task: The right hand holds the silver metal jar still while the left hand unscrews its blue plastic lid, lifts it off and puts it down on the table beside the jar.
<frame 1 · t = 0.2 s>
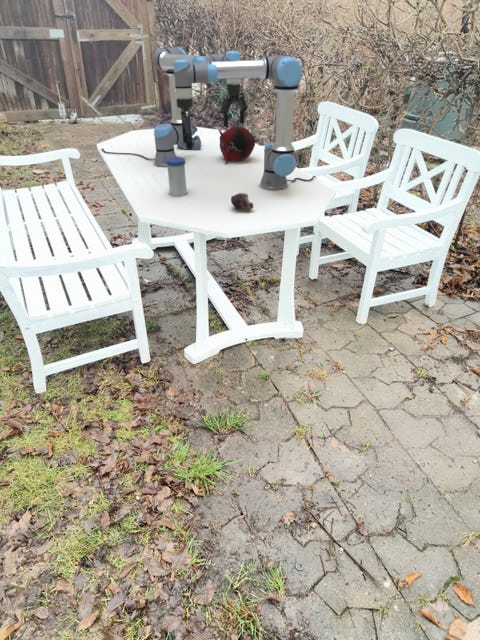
left hand: (234, 125, 259), 28 cm above the table, tool pointing down, fingers open, 13 cm apart
right hand: (187, 145, 221), 28 cm above the table, tool pointing down, fingers open, 13 cm apart
rock: (241, 209, 225), on the table
koala plush: (189, 147, 329), on the table
lid: (175, 160, 236), point 18 cm above the table, screwed on, not yet turned
jar: (178, 193, 246), on the table
dark red rounded piece: (236, 159, 302), on the table
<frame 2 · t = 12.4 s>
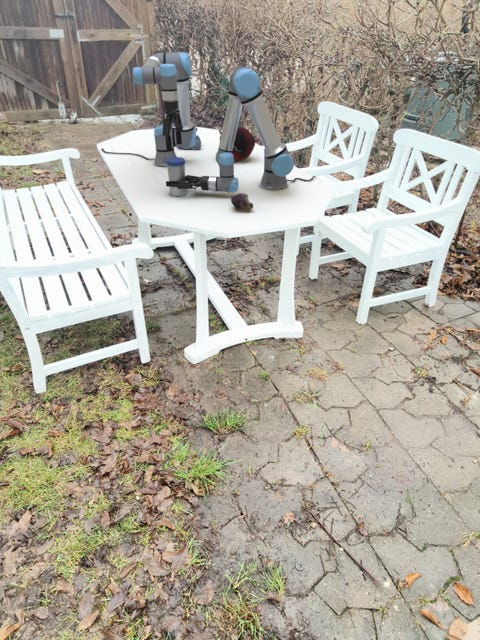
left hand: (174, 146, 232), 25 cm above the table, tool pointing down, fingers open, 11 cm apart
right hand: (169, 180, 243), 7 cm above the table, tool horizontal, fingers closed on jar, 9 cm apart
jar: (178, 193, 246), on the table, touching right hand
everything else where it was.
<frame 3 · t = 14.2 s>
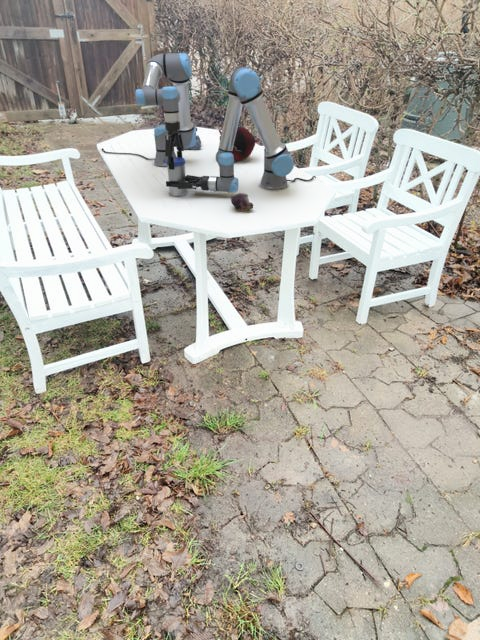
left hand: (176, 166, 238), 15 cm above the table, tool pointing down, fingers closed on lid, 10 cm apart
right hand: (169, 180, 243), 7 cm above the table, tool horizontal, fingers closed on jar, 9 cm apart
lid: (175, 160, 236), point 18 cm above the table, screwed on, not yet turned, touching left hand
jar: (178, 193, 246), on the table, touching right hand
everything else where it was.
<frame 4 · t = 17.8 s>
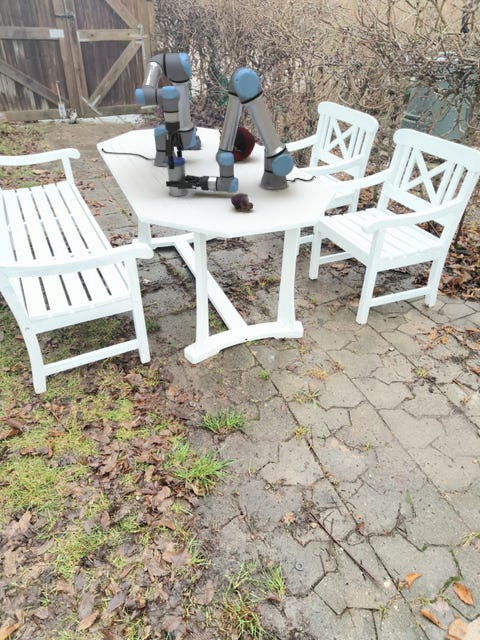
left hand: (176, 166, 238), 15 cm above the table, tool pointing down, fingers closed on lid, 10 cm apart
right hand: (169, 180, 243), 7 cm above the table, tool horizontal, fingers closed on jar, 9 cm apart
lid: (175, 160, 236), point 18 cm above the table, turned 106° so far, risen 0.2 cm, still on its thread, touching left hand
jar: (178, 193, 246), on the table, touching right hand
everything else where it was.
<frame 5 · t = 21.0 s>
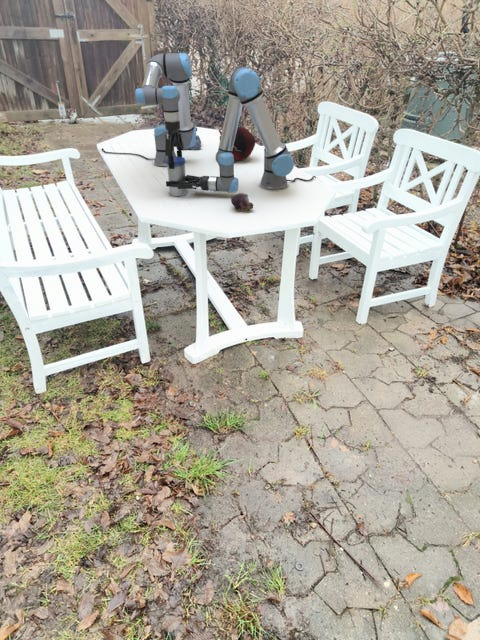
left hand: (176, 165, 238), 15 cm above the table, tool pointing down, fingers closed on lid, 10 cm apart
right hand: (169, 180, 243), 7 cm above the table, tool horizontal, fingers closed on jar, 9 cm apart
lid: (175, 159, 236), point 18 cm above the table, turned 213° so far, risen 0.3 cm, still on its thread, touching left hand
jar: (178, 193, 246), on the table, touching right hand
everything else where it was.
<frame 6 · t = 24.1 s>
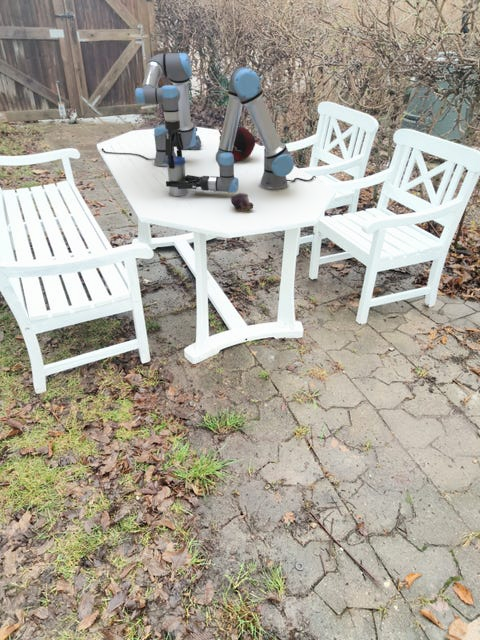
left hand: (176, 165, 238), 15 cm above the table, tool pointing down, fingers closed on lid, 10 cm apart
right hand: (169, 180, 243), 7 cm above the table, tool horizontal, fingers closed on jar, 9 cm apart
lid: (175, 159, 236), point 18 cm above the table, turned 319° so far, risen 0.5 cm, still on its thread, touching left hand
jar: (178, 193, 246), on the table, touching right hand
everything else where it was.
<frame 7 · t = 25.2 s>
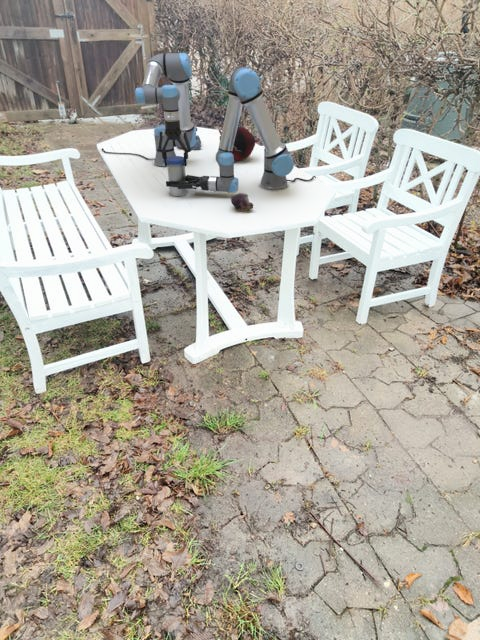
left hand: (176, 165, 238), 15 cm above the table, tool pointing down, fingers closed on lid, 10 cm apart
right hand: (169, 180, 243), 7 cm above the table, tool horizontal, fingers closed on jar, 9 cm apart
lid: (175, 159, 236), point 18 cm above the table, off its thread, touching left hand
jar: (178, 193, 246), on the table, touching right hand
everything else where it was.
when the left hand's fingers open (0 cm above the table, at t = 31.3 s): lid drops 2 cm, point 2 cm above the table.
when the right hand's fingers open (7 cm above the table, at t = 32.4 s): jar stays where it is, on the table.
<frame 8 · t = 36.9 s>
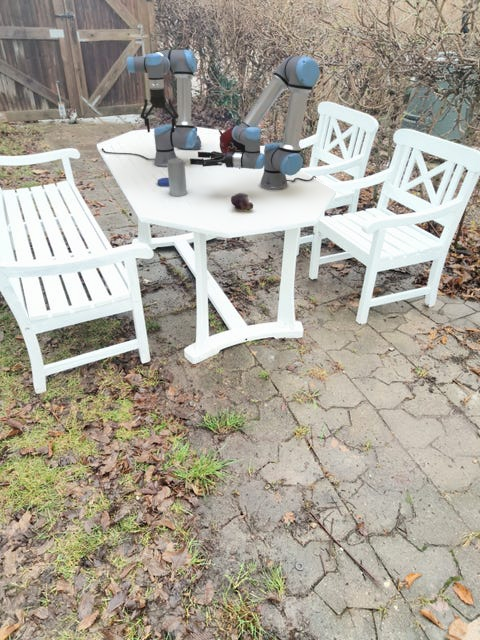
left hand: (161, 132, 244), 28 cm above the table, tool pointing down, fingers open, 13 cm apart
right hand: (194, 157, 233), 20 cm above the table, tool horizontal, fingers open, 13 cm apart
lid: (166, 180, 259), point 2 cm above the table, off its thread
jar: (178, 193, 246), on the table
everything else where it was.
at the end: lid came off its thread; lid point 1.7 cm above the table; the left hand is holding nothing; the right hand is holding nothing; jar tilted 0°; jar moved 0.0 cm from its start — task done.
